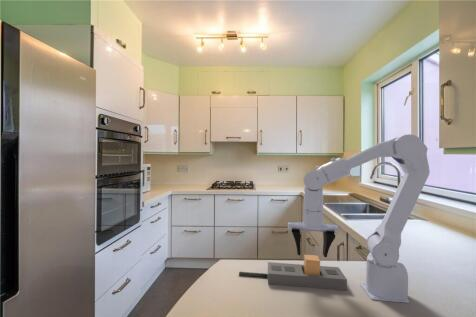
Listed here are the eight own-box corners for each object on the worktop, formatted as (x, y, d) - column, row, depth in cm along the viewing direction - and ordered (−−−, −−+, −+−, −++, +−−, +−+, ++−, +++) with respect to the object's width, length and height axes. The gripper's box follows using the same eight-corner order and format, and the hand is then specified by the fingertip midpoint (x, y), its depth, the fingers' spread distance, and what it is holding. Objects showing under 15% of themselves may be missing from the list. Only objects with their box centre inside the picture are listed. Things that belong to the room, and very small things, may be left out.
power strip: (338, 276, 77) (338, 266, 77) (346, 290, 69) (347, 279, 69) (240, 269, 81) (240, 259, 81) (237, 281, 73) (237, 270, 73)
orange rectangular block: (316, 278, 76) (317, 255, 76) (319, 284, 72) (320, 260, 72) (303, 277, 77) (304, 254, 77) (305, 283, 73) (306, 259, 73)
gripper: (334, 208, 78) (333, 251, 78) (287, 206, 79) (286, 248, 79) (341, 213, 71) (339, 260, 71) (289, 210, 72) (288, 257, 72)
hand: (311, 255), depth 74 cm, fingers open, 7 cm apart
